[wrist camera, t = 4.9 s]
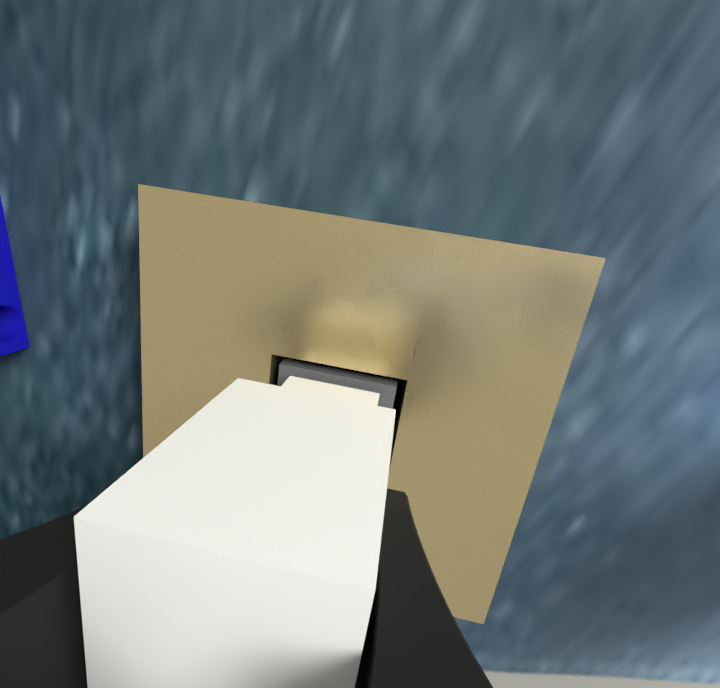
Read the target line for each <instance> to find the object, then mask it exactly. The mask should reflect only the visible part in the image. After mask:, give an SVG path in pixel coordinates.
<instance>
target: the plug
mask: <svg viewBox="0 0 720 688" xmlns="http://www.w3.org/2000/svg"><path fill="white" fill-rule="evenodd" d="M379 395H380V393H375V392H370V391H365V390H360V389H355V388H350V387H345V386H340V385H335V384H330V383H324V382H319V381H314V380H309V379H304V378H299V377H294V376H289V377H288V379H287V380H286V381H285V382H284V383H283V385H282V386H276V385H271V384H266V383H261V382H256V381H251V380H246V379H241V378H238V379H236V380H235V381H234V382H233V383H232V384H230V385H229V386H228V387H227V388H226V389H224V390H223V391H222V392H221V393H220V394H219V395H217V396H216V397H215V398H214V399H213V400H211V401H210V402H209V403H208V404H207V405H206V406H204V407H203V408H202V409H201V410H200V411H198V412H197V413H196V414H195V415H194V416H192V417H191V418H190V419H189V420H188V421H187V422H185V423H184V424H183V425H182V426H181V427H179V428H178V429H177V430H176V431H175V432H174V433H172V434H171V435H170V436H169V437H168V438H166V439H165V440H164V441H163V442H162V443H160V444H159V445H158V446H157V447H156V448H155V449H153V450H152V451H151V452H150V453H149V454H147V455H146V456H145V457H144V458H143V459H142V460H140V461H139V462H138V463H137V464H136V465H134V466H133V467H132V468H131V469H130V470H128V471H127V472H126V473H125V474H124V475H123V476H121V477H120V478H119V479H118V480H117V481H115V482H114V483H113V484H112V485H111V486H110V487H108V488H107V489H106V490H105V491H104V492H102V493H101V494H100V495H99V496H98V497H97V498H95V499H94V500H93V501H92V502H91V503H89V504H88V505H87V506H86V507H85V508H83V509H82V510H81V511H80V512H79V513H78V514H76V515H75V516H74V528H75V540H76V552H77V564H78V577H79V589H80V601H81V613H82V625H83V638H84V650H85V662H86V674H87V686H88V688H355V683H356V678H357V674H358V669H359V664H360V660H361V655H362V650H363V646H364V641H365V636H366V632H367V627H368V622H369V618H370V613H371V608H372V604H373V599H374V594H375V590H376V581H377V572H378V563H379V554H380V546H381V537H382V528H383V519H384V510H385V502H386V493H387V484H388V475H389V466H390V458H391V449H392V440H393V431H394V422H395V414H396V409H391V408H386V407H381V406H378V400H379Z"/></svg>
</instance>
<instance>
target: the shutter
mask: <svg viewBox="0 0 720 688" xmlns="http://www.w3.org/2000/svg"><path fill="white" fill-rule="evenodd" d="M289 376H294V377H299V378H304V379H309V380H314V381H319V382H324V383H330V384H335V385H340V386H345V387H350V388H355V389H360V390H365V391H370V392H375V393H380V395H379V400H378V406H381V407H386V408H391V409H393V404H394V399H395V394H396V389H397V382H398V380H394V379H389V378H383V377H378V376H373V375H368V374H363V373H357V372H352V371H347V370H342V369H337V368H332V367H326V366H321V365H316V364H311V363H306V362H300V361H295V360H290V359H284V360H283V361H282V362H281V363H280V364H279V375H278V385H277V386H282V385H283V383H284V382H285V381H286V380H287V379H288V377H289Z"/></svg>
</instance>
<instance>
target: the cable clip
mask: <svg viewBox="0 0 720 688" xmlns="http://www.w3.org/2000/svg"><path fill="white" fill-rule="evenodd" d="M26 348H29V342H28V337H27V332H26V327H25V321H24V316H23V311H22V306H21V301H20V295H19V290H18V285H17V280H16V275H15V270H14V264H13V259H12V254H11V249H10V244H9V238H8V233H7V228H6V223H5V218H4V213H3V207H2V202H1V197H0V356H3V355H6V354H9V353H13V352H16V351H19V350H22V349H26Z"/></svg>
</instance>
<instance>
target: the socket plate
mask: <svg viewBox="0 0 720 688" xmlns="http://www.w3.org/2000/svg"><path fill="white" fill-rule="evenodd" d="M138 200H139V254H140V308H141V362H142V416H143V458H144V457H145V456H146V455H147V454H149V453H150V452H151V451H152V450H153V449H155V448H156V447H157V446H158V445H159V444H160V443H162V442H163V441H164V440H165V439H166V438H168V437H169V436H170V435H171V434H172V433H174V432H175V431H176V430H177V429H178V428H179V427H181V426H182V425H183V424H184V423H185V422H187V421H188V420H189V419H190V418H191V417H192V416H194V415H195V414H196V413H197V412H198V411H200V410H201V409H202V408H203V407H204V406H206V405H207V404H208V403H209V402H210V401H211V400H213V399H214V398H215V397H216V396H217V395H219V394H220V393H221V392H222V391H223V390H224V389H226V388H227V387H228V386H229V385H230V384H232V383H233V382H234V381H235V380H236V379H238V378H241V379H246V380H251V381H256V382H261V383H266V384H271V385H276V386H277V385H278V375H279V364H280V363H281V362H282V361H283V360H284V359H290V360H291V358H294V359H299V360H304V361H310V362H315V363H320V364H325V365H330V366H335V367H341V368H346V369H351V370H356V371H361V372H367V373H372V374H377V375H382V376H387V377H393V378H398V379H403V380H404V384H403V389H402V394H401V399H400V404H399V409H398V414H397V419H396V424H395V429H394V434H393V440H392V449H391V458H390V466H389V475H388V484H387V488H388V489H393V490H397V491H402V492H405V493H406V495H407V496H408V500H409V505H410V509H411V513H412V516H413V520H414V523H415V526H416V529H417V532H418V535H419V538H420V541H421V544H422V546H423V549H424V551H425V554H426V557H427V559H428V562H429V564H430V567H431V569H432V572H433V574H434V576H435V579H436V581H437V583H438V585H439V588H440V590H441V592H442V594H443V596H444V598H445V601H446V603H447V605H448V607H449V609H450V611H451V613H452V615H453V617H455V618H459V619H464V620H468V621H472V622H476V623H480V624H484V622H485V619H486V616H487V613H488V610H489V607H490V604H491V601H492V598H493V595H494V592H495V589H496V586H497V583H498V580H499V577H500V574H501V571H502V568H503V565H504V562H505V559H506V556H507V553H508V550H509V547H510V544H511V541H512V538H513V535H514V532H515V529H516V526H517V523H518V520H519V517H520V514H521V511H522V508H523V505H524V502H525V499H526V496H527V493H528V490H529V487H530V484H531V481H532V478H533V475H534V472H535V469H536V466H537V463H538V460H539V457H540V454H541V451H542V448H543V445H544V442H545V439H546V436H547V433H548V430H549V427H550V424H551V421H552V418H553V415H554V412H555V409H556V406H557V403H558V400H559V397H560V394H561V391H562V388H563V385H564V382H565V379H566V376H567V373H568V370H569V367H570V364H571V361H572V358H573V355H574V352H575V349H576V346H577V343H578V340H579V337H580V334H581V331H582V328H583V325H584V322H585V319H586V316H587V313H588V310H589V307H590V304H591V301H592V298H593V295H594V292H595V289H596V286H597V283H598V280H599V277H600V274H601V271H602V268H603V265H604V262H605V259H606V258H601V257H595V256H589V255H583V254H577V253H571V252H565V251H558V250H552V249H546V248H539V247H533V246H527V245H520V244H514V243H508V242H502V241H495V240H489V239H483V238H476V237H470V236H464V235H457V234H451V233H445V232H438V231H432V230H426V229H420V228H413V227H407V226H401V225H394V224H388V223H382V222H375V221H369V220H363V219H356V218H350V217H344V216H338V215H331V214H325V213H319V212H312V211H306V210H300V209H293V208H287V207H281V206H274V205H268V204H262V203H256V202H249V201H243V200H237V199H230V198H224V197H218V196H211V195H205V194H199V193H192V192H186V191H180V190H173V189H167V188H160V187H153V186H147V185H140V184H138Z"/></svg>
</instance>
